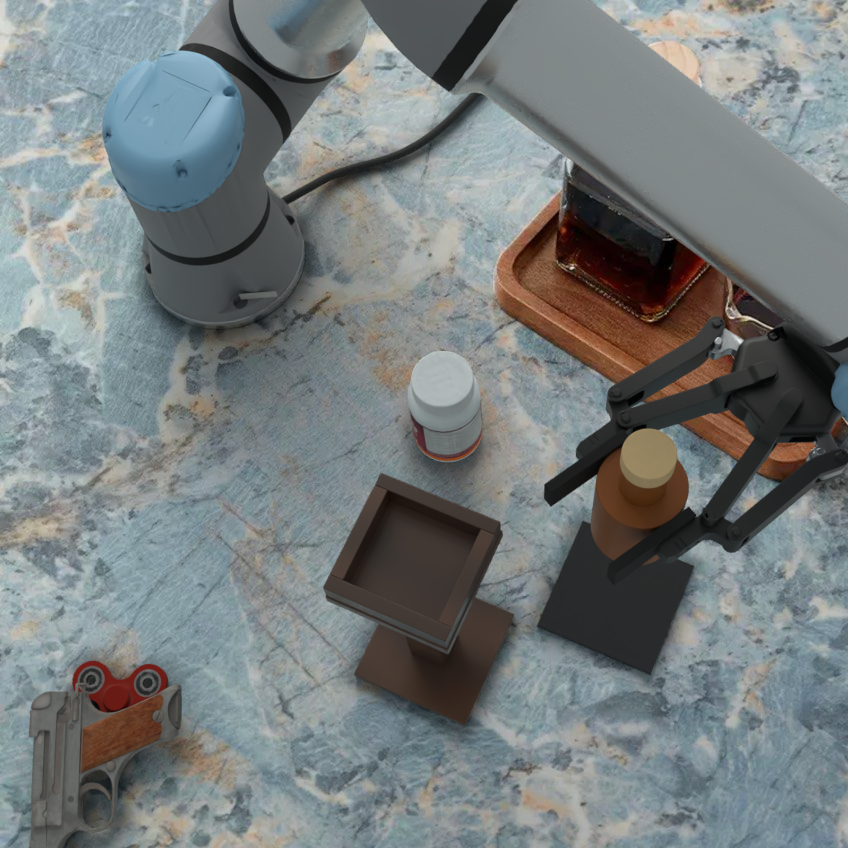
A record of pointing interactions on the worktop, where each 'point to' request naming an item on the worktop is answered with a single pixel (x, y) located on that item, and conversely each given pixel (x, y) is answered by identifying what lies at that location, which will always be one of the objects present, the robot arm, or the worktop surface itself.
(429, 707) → the holder
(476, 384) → the pill bottle
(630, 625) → the mat
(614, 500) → the bottle
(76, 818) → the pistol
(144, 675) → the fidget spinner
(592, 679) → the worktop surface
